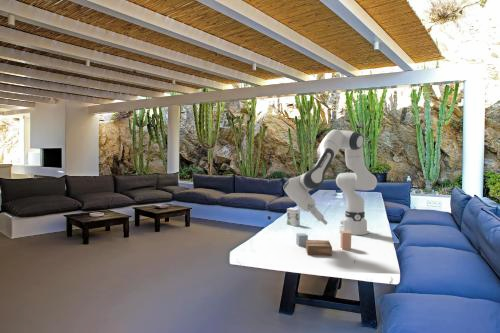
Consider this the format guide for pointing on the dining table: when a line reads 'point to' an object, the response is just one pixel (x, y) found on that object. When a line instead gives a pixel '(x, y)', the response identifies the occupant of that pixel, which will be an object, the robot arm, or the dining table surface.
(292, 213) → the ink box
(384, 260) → the dining table surface
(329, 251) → the walnut block
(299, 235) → the slate grey block
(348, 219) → the robot arm
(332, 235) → the dining table surface
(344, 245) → the terracotta block
